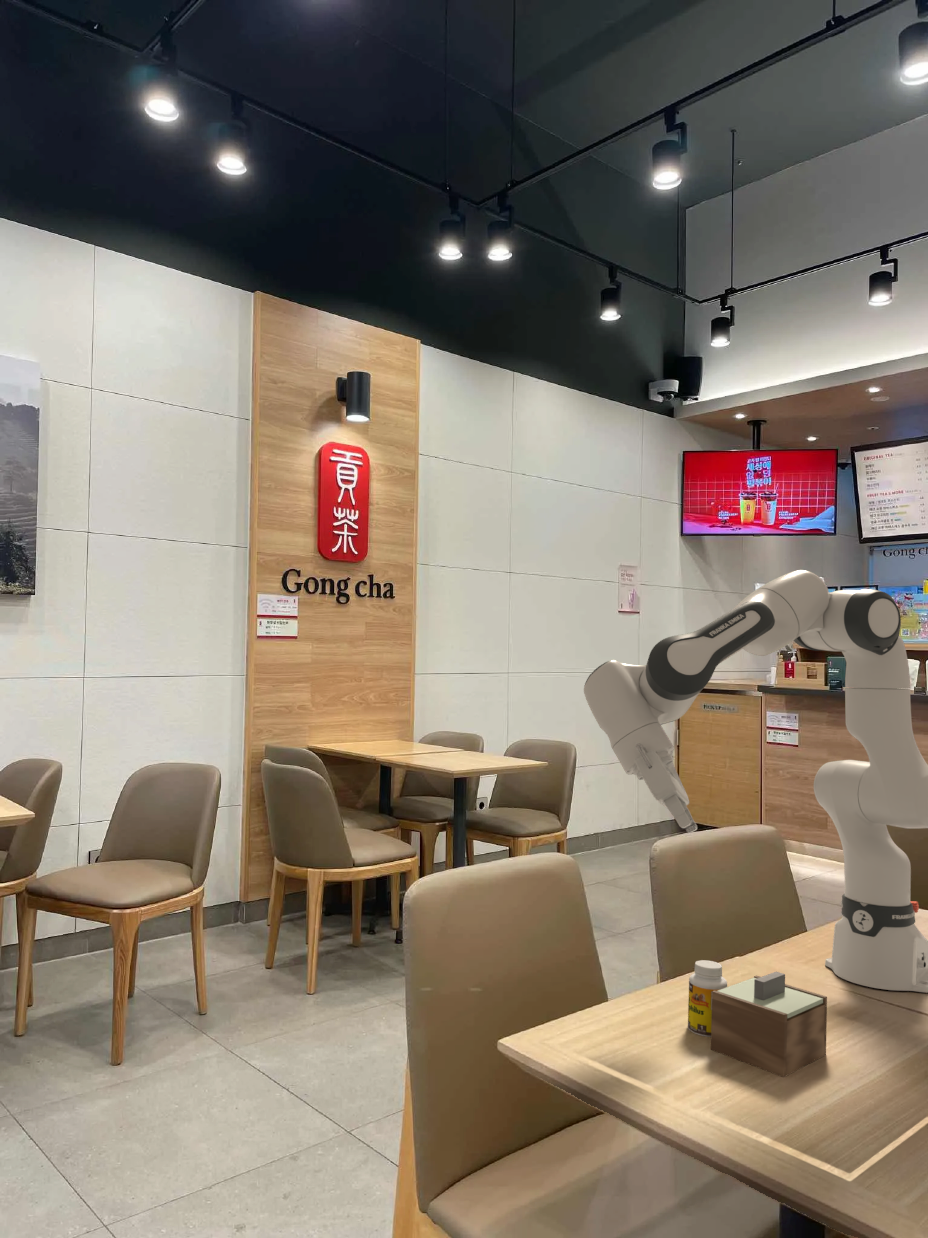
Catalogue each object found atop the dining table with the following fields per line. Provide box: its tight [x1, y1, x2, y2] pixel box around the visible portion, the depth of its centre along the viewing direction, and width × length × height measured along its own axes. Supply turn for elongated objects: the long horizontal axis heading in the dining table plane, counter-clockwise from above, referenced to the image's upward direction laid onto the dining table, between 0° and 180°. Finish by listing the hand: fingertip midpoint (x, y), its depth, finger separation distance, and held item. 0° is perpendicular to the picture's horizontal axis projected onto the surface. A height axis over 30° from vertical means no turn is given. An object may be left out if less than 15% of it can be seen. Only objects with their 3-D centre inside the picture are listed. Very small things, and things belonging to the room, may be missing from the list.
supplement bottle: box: [687, 959, 728, 1038], centre depth 136 cm, size 6×6×10 cm
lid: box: [718, 971, 823, 1019], centre depth 129 cm, size 10×11×3 cm
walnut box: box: [710, 975, 828, 1078], centre depth 128 cm, size 12×11×9 cm
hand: (690, 828), depth 142 cm, fingers open, 8 cm apart
